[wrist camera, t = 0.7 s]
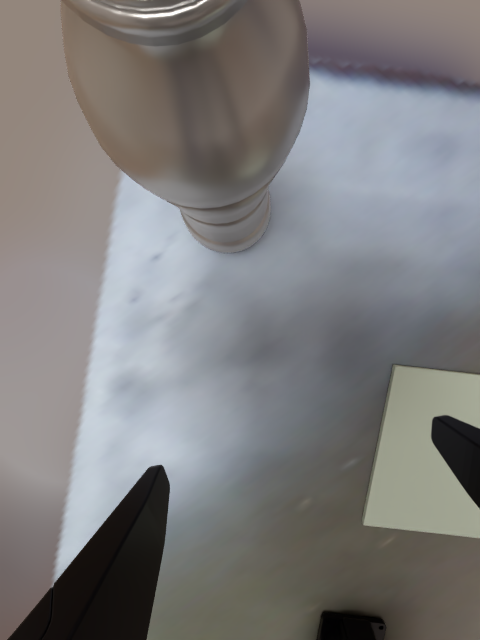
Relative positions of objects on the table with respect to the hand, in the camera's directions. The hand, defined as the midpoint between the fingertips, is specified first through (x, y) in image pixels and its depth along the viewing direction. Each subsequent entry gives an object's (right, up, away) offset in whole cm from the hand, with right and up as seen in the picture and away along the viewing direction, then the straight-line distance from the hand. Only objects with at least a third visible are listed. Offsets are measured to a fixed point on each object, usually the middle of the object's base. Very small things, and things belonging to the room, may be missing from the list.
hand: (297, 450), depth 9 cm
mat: (+19, -8, +16) cm, 26 cm away
